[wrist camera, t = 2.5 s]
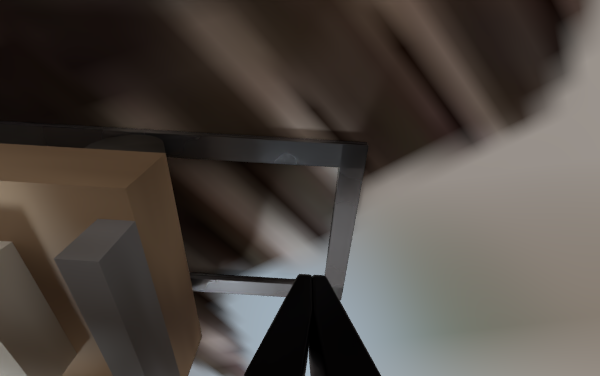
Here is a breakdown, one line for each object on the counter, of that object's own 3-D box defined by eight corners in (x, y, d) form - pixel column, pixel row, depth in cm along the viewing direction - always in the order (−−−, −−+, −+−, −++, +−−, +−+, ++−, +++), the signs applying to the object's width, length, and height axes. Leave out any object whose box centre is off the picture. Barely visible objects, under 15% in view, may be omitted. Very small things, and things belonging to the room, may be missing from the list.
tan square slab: (214, 299, 12) (168, 432, 8) (-13, 285, 13) (-169, 410, 8) (190, 131, 9) (84, 224, 5) (-134, 112, 9) (-520, 188, 5)
